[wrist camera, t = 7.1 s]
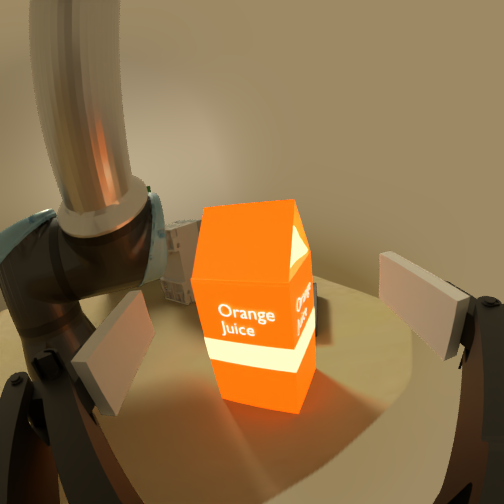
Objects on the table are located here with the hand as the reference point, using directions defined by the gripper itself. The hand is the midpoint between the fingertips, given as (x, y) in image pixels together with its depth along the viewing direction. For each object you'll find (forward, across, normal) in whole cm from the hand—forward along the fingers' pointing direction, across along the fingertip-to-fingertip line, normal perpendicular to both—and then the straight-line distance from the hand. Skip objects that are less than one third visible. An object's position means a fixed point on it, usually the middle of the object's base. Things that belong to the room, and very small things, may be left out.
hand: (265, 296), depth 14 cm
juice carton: (+11, 0, -16) cm, 20 cm away
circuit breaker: (+43, -12, -16) cm, 47 cm away
